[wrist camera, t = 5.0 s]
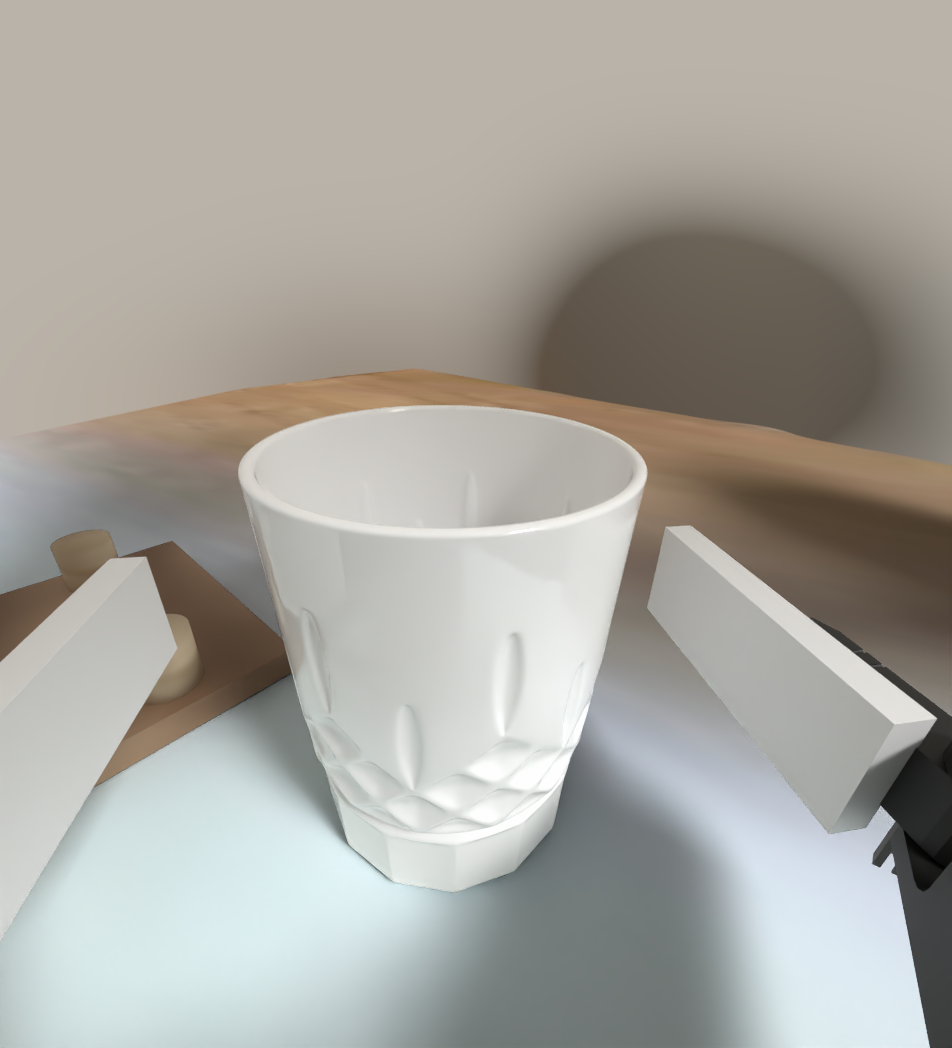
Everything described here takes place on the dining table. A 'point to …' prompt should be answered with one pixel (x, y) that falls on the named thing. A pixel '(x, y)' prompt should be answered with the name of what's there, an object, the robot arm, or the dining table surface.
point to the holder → (198, 629)
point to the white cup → (444, 617)
